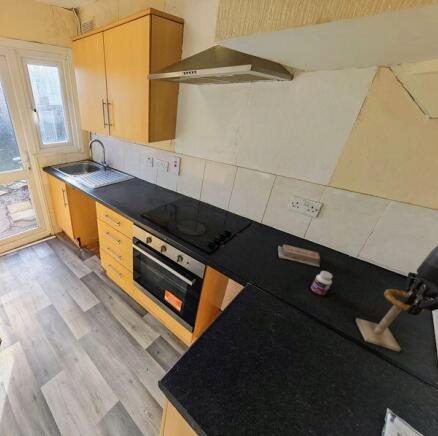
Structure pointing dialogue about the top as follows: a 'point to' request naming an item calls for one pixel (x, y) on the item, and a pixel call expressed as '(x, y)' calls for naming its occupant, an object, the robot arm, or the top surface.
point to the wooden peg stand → (380, 330)
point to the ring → (389, 296)
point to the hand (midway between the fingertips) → (408, 310)
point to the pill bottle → (322, 283)
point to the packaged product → (299, 255)
